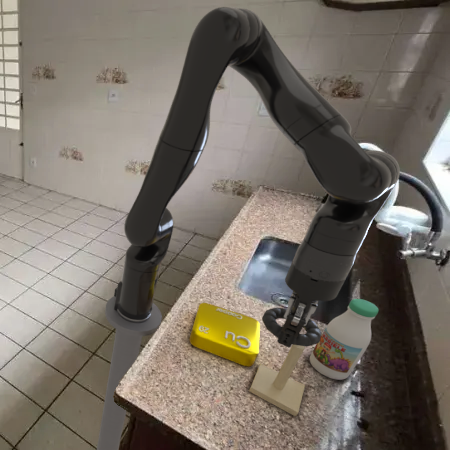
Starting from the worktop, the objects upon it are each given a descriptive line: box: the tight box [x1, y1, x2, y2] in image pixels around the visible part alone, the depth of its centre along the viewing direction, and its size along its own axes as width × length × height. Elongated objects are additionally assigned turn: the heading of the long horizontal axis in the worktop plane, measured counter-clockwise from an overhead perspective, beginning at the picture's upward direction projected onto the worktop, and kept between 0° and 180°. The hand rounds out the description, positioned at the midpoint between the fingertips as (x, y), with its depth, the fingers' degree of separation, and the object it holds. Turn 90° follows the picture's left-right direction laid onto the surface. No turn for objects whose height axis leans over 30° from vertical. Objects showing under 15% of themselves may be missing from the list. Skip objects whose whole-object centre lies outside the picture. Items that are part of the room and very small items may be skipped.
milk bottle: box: [309, 298, 379, 381], centre depth 81 cm, size 8×8×20 cm
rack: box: [248, 344, 306, 417], centre depth 77 cm, size 9×9×14 cm
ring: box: [261, 307, 323, 347], centre depth 70 cm, size 10×10×2 cm
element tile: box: [189, 302, 261, 367], centre depth 93 cm, size 15×15×5 cm
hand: (285, 339), depth 68 cm, fingers closed on ring, 2 cm apart
